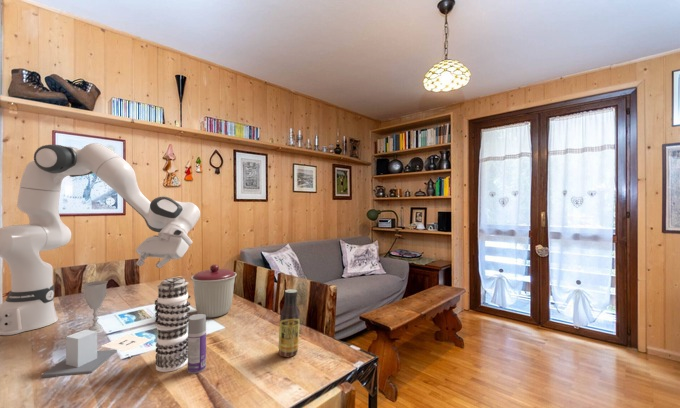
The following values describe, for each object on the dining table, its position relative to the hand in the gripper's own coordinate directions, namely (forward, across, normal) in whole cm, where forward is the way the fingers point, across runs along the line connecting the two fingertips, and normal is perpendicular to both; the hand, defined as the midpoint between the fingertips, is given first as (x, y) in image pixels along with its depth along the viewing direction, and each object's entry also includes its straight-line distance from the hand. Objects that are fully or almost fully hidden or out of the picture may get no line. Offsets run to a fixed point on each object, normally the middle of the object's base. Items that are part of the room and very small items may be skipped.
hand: (148, 265), depth 106 cm
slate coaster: (+32, +1, +2) cm, 33 cm away
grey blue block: (+32, +1, +2) cm, 32 cm away
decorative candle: (+26, +26, +9) cm, 38 cm away
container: (+26, +35, +9) cm, 44 cm away
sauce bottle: (+14, +55, +20) cm, 61 cm away
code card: (+23, +1, +12) cm, 26 cm away
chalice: (+21, -19, +14) cm, 32 cm away
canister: (+1, +9, +34) cm, 35 cm away
